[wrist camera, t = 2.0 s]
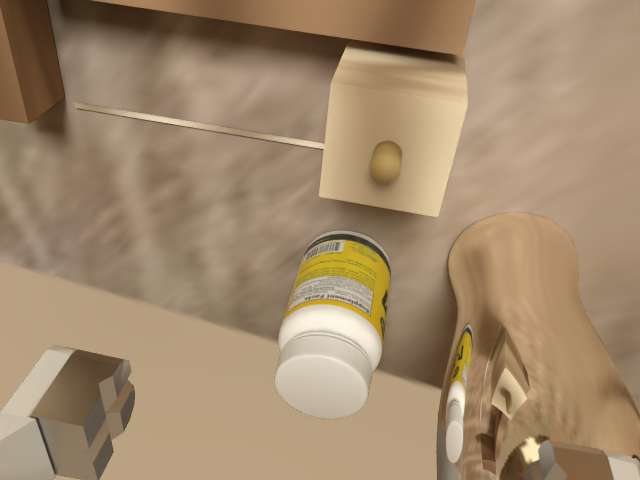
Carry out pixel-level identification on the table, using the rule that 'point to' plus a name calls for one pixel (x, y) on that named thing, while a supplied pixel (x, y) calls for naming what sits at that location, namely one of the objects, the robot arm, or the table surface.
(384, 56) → the block
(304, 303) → the supplement bottle
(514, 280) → the beer glass
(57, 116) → the table surface
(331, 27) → the fence board
